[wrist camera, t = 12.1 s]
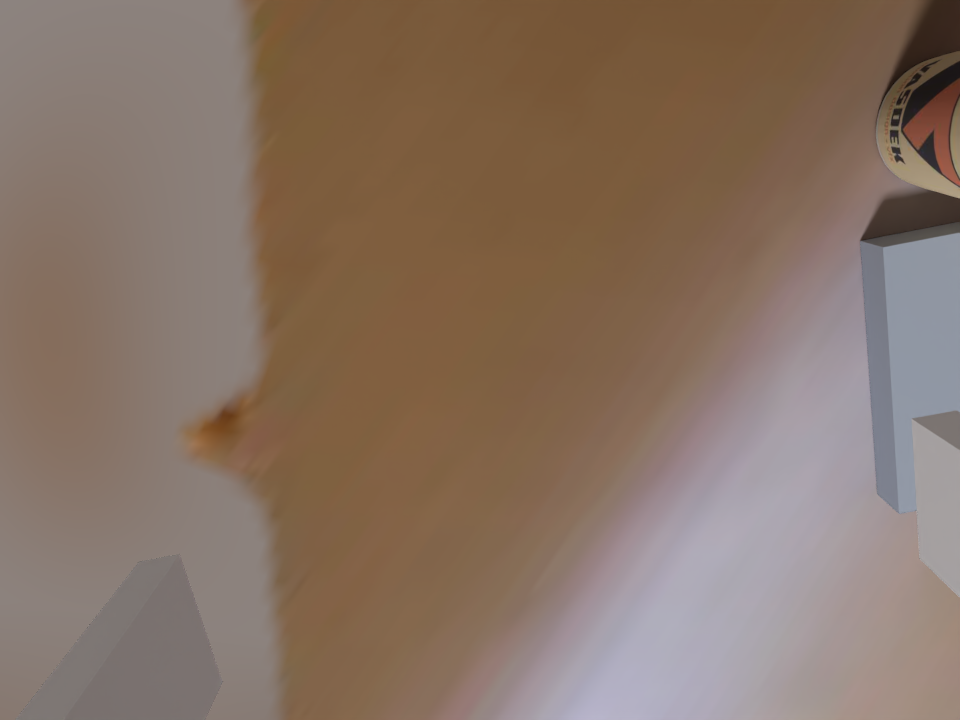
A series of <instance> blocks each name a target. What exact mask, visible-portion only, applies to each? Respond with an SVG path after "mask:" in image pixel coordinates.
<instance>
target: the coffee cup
mask: <svg viewBox="0 0 960 720" xmlns="http://www.w3.org/2000/svg"><path fill="white" fill-rule="evenodd" d="M876 140H877V146H878V150H879V153H880V156H881V157H882V159H883V161H884V163H885V164H886V166H887V167H888V168H889V169H890V171H891V172H893V173H894V174H895V175H896V176H897V177H899V178H900V179H902V180H904V181H906V182H908V183H911V184H913V185H916V186H919V187H922V188H925V189H929V190H932V191H935V192H939V193H942V194H946V195H949V196H953V197H956V198H960V51H957V52H953V53H949V54H945V55H942V56H939V57H935V58H932V59H929V60H927V61H924V62H922V63H920V64H918V65H916V66H914V67H913V68H911V69H910V70H908V71H907V72H906V73H904V74H903V75H902V76H901V77H900V78H899V79H898V80H897V81H896V82H895V83H894V85H893V86H892V87H891V89H890V90H889V91H888V93H887V95H886V96H885V98H884V100H883V102H882V105H881V107H880V110H879V113H878V117H877V123H876Z"/></svg>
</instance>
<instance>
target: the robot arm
mask: <svg viewBox="0 0 960 720" xmlns="http://www.w3.org/2000/svg"><path fill="white" fill-rule="evenodd" d="M912 436H913V453H914V471H915V488H916V506H917V523H918V541H919V559H920V560H921V561H922V562H923V563H924V564H925V565H927V566H928V567H929V568H930V569H931V570H932V571H933V572H934V573H935V574H936V575H937V576H938V577H939V578H940V579H941V580H942V581H943V582H944V583H945V584H946V585H947V586H948V587H949V588H950V589H951V590H953V591H954V592H955V593H956V594H957V595H958V596H959V597H960V412H958V411H957V410H955V411H950V412H945V413H939V414H934V415H928V416H923V417H918V418H912ZM222 682H223V681H222V678H221V676H220V673H219V670H218V667H217V664H216V661H215V658H214V655H213V652H212V649H211V646H210V643H209V640H208V637H207V634H206V631H205V628H204V625H203V622H202V619H201V616H200V613H199V610H198V607H197V604H196V601H195V598H194V595H193V592H192V589H191V586H190V583H189V580H188V577H187V574H186V571H185V568H184V565H183V563H182V560H181V557H180V554H178V555H173V556H167V557H162V558H156V559H151V560H146V561H140V562H138V564H137V565H136V566H135V567H134V569H133V570H132V571H131V573H130V574H129V575H128V576H127V578H126V579H125V580H124V582H123V583H122V584H121V585H120V587H119V588H118V589H117V590H116V592H115V593H114V594H113V596H112V597H111V598H110V599H109V601H108V602H107V603H106V605H105V606H104V607H103V608H102V610H101V611H100V612H99V613H98V615H97V616H96V617H95V619H94V620H93V621H92V622H91V624H90V625H89V626H88V627H87V629H86V630H85V631H84V633H83V634H82V635H81V637H80V638H79V639H78V640H77V642H76V643H75V644H74V645H73V647H72V648H71V649H70V650H69V652H68V653H67V654H66V656H65V657H64V658H63V660H62V661H61V662H60V663H59V665H58V666H57V667H56V669H55V670H54V671H53V672H52V673H51V675H50V676H49V677H48V679H47V680H46V681H45V683H44V684H43V685H42V686H41V688H40V689H39V690H38V691H37V693H36V694H35V695H34V696H33V698H32V699H31V700H30V702H29V703H28V704H27V705H26V707H25V708H24V709H23V711H22V712H21V713H20V715H19V716H18V717H17V718H16V719H15V720H205V719H206V717H207V715H208V713H209V710H210V708H211V706H212V704H213V702H214V700H215V697H216V695H217V693H218V691H219V689H220V687H221V684H222Z"/></svg>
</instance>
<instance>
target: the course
mask: <svg viewBox="0 0 960 720" xmlns="http://www.w3.org/2000/svg"><path fill="white" fill-rule="evenodd" d="M860 245H861V260H862V275H863V289H864V304H865V319H866V334H867V348H868V363H869V378H870V393H871V408H872V422H873V437H874V452H875V467H876V481H877V494H878V495H879V496H880V497H881V498H882V499H883V500H884V501H885V502H886V503H888V504H889V505H890V506H891V507H892V508H893V509H894V510H895V511H896V512H898V513H899V514H901V513H907V512H912V511H917V506H916V488H915V471H914V453H913V436H912V418H918V417H923V416H928V415H934V414H939V413H945V412H950V411H955V410H957V411H958V412H960V222H956V223H950V224H945V225H940V226H935V227H930V228H925V229H919V230H914V231H909V232H904V233H899V234H894V235H888V236H883V237H878V238H873V239H868V240H862V241H860Z"/></svg>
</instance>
